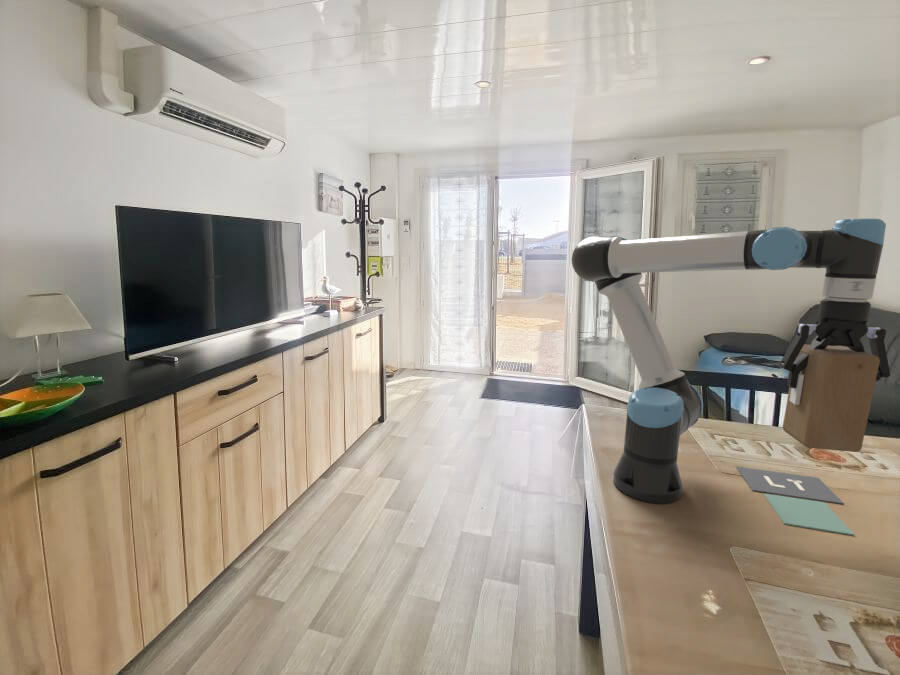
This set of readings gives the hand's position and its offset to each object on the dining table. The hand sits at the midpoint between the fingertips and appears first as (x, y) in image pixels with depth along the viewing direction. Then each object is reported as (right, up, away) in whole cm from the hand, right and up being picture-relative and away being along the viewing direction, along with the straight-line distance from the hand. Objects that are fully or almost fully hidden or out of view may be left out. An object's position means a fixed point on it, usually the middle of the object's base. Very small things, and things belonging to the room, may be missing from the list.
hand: (825, 405), depth 91 cm
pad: (0, -24, +5) cm, 25 cm away
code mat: (+5, -22, +17) cm, 28 cm away
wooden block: (0, -8, +2) cm, 8 cm away
